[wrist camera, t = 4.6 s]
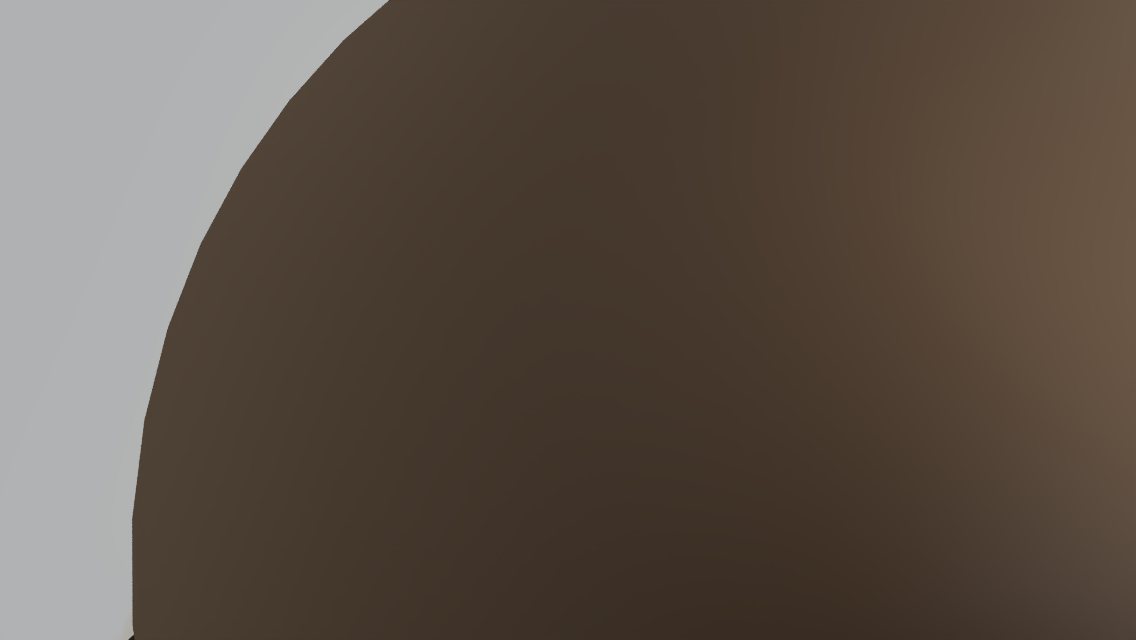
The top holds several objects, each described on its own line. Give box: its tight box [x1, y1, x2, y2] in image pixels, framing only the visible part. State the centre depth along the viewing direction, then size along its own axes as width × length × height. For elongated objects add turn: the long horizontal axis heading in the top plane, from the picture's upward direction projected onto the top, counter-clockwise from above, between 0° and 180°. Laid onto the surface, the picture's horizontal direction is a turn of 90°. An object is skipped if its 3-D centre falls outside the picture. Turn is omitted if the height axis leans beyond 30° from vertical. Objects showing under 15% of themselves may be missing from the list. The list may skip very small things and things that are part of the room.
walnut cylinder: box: [132, 0, 1136, 640], centre depth 9 cm, size 5×5×13 cm
